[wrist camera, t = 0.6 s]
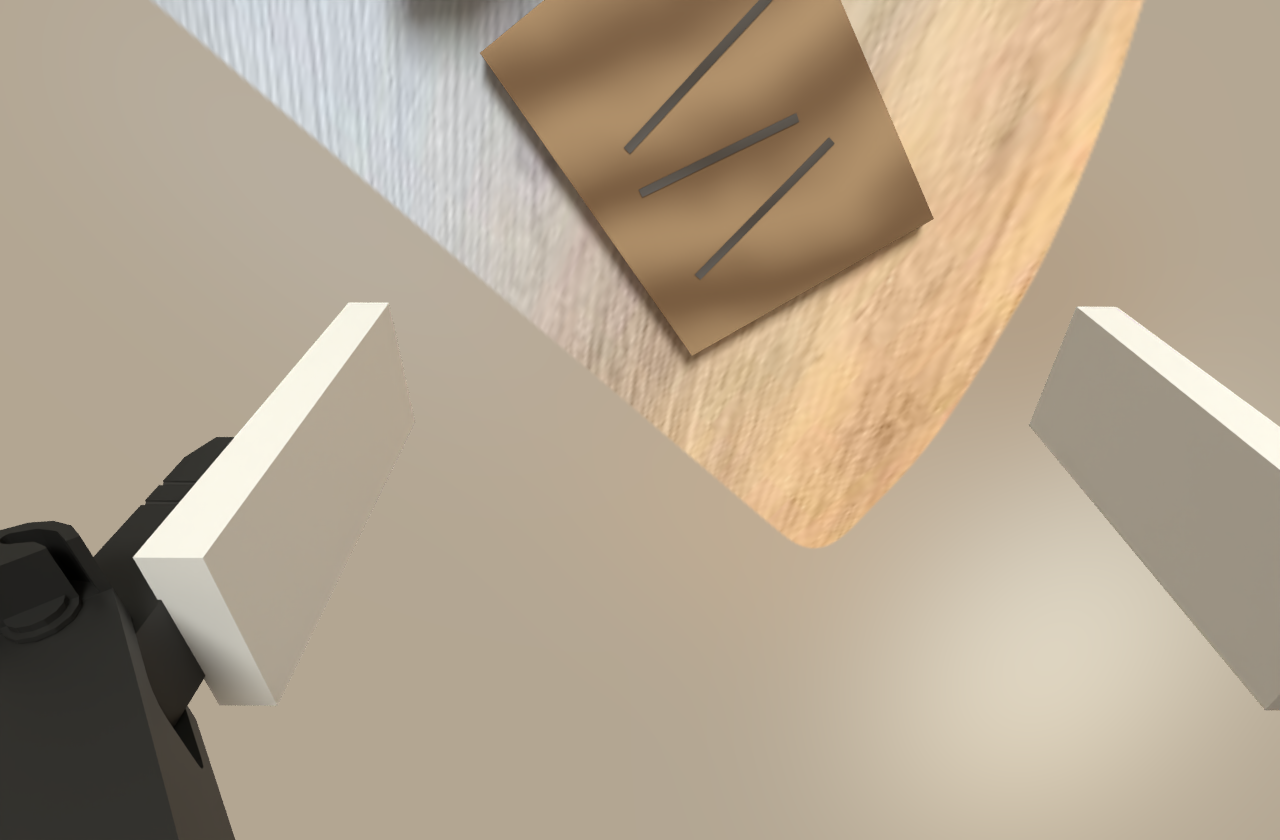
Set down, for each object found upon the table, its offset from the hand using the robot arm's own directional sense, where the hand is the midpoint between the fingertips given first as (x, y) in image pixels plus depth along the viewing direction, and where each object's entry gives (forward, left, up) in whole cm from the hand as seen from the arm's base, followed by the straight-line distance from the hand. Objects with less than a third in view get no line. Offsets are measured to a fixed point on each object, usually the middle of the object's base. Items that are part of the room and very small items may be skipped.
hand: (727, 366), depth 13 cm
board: (+1, +2, -23) cm, 23 cm away
